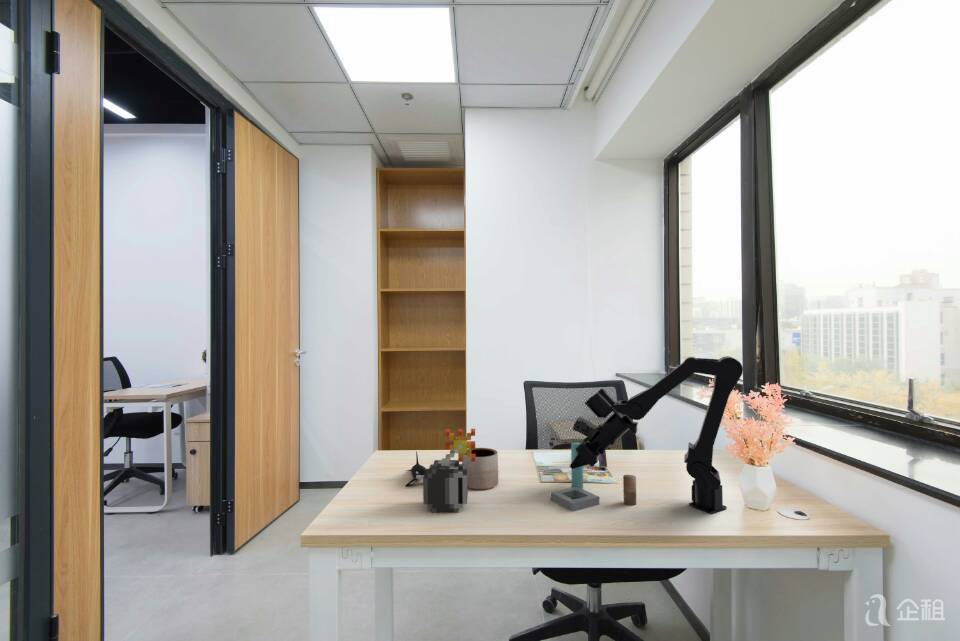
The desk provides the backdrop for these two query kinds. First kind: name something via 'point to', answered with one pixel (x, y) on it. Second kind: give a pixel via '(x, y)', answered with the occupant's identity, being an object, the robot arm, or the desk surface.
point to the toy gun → (602, 460)
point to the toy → (417, 471)
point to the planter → (482, 468)
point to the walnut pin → (629, 489)
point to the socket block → (582, 502)
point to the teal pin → (576, 472)
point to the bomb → (449, 476)
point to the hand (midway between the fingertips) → (572, 465)
